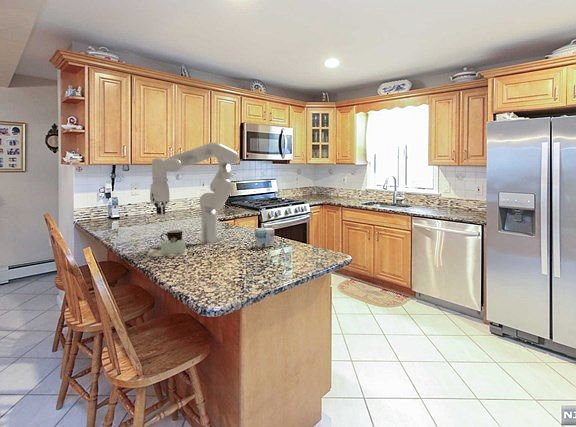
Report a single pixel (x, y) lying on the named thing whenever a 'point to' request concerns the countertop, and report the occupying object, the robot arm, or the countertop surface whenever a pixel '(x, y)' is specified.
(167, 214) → the t key
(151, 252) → the base plate
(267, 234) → the light bulb box
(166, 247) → the slotted block
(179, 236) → the coffee mug
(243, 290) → the countertop surface
